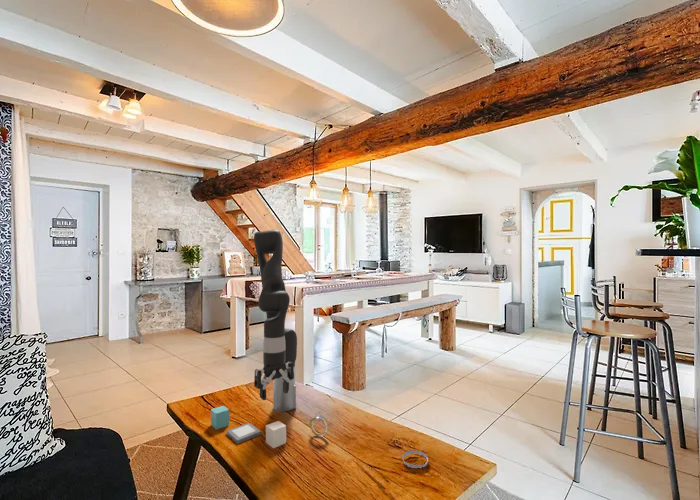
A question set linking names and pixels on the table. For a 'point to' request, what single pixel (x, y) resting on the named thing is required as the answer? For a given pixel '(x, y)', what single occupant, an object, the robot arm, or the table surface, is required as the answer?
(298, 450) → the table surface
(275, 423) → the cream brick
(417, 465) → the gray circular band
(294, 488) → the table surface
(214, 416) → the teal brick
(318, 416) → the ring
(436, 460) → the table surface
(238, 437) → the baseplate
